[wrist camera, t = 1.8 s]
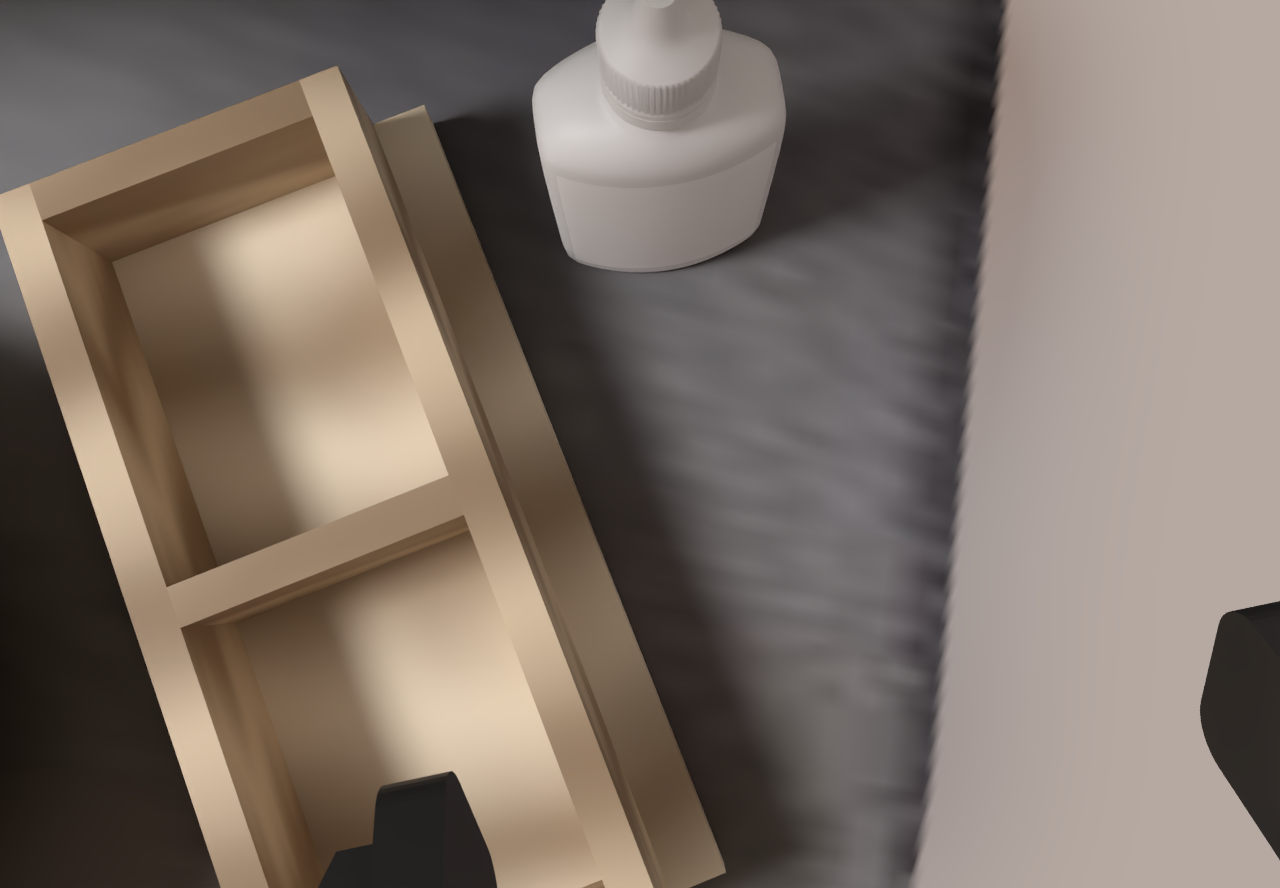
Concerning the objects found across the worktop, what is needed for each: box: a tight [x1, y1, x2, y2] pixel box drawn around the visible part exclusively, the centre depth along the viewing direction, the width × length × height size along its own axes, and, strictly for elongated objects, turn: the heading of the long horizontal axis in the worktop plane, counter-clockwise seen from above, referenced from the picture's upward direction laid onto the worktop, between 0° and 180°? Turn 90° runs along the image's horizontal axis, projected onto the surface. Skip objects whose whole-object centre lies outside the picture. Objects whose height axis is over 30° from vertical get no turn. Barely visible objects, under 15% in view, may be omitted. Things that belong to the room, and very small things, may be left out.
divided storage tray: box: [0, 66, 726, 888], centre depth 28 cm, size 22×12×5 cm, turn 22°
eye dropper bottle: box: [532, 0, 786, 273], centre depth 26 cm, size 4×6×12 cm
